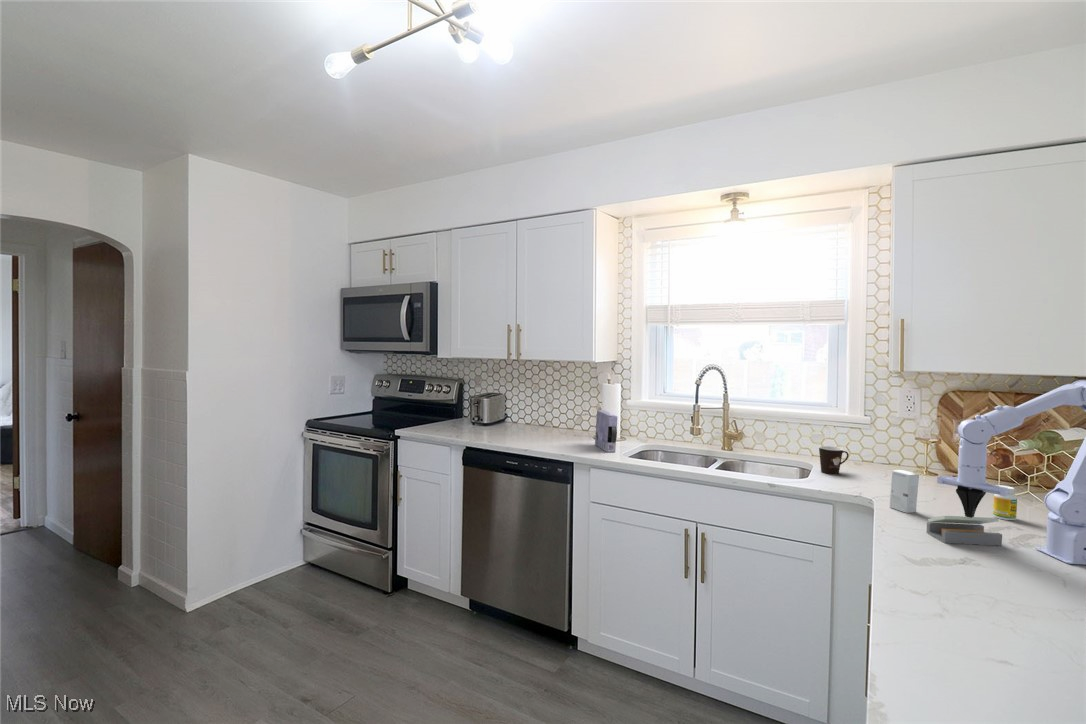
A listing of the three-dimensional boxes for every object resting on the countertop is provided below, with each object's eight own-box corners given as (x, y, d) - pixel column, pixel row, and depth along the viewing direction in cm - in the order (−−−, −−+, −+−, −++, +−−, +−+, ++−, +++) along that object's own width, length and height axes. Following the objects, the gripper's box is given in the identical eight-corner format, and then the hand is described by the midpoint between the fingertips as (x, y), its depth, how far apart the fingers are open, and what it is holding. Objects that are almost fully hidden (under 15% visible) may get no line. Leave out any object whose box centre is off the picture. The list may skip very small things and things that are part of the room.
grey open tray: (1001, 545, 137) (1002, 534, 137) (944, 543, 138) (945, 531, 138) (980, 535, 144) (980, 524, 144) (926, 532, 146) (926, 522, 146)
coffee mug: (820, 474, 212) (821, 449, 211) (816, 469, 220) (816, 445, 219) (852, 476, 208) (854, 451, 208) (847, 471, 216) (848, 447, 216)
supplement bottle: (996, 514, 164) (997, 483, 163) (1018, 519, 159) (1020, 487, 159) (990, 517, 161) (991, 486, 160) (1012, 522, 156) (1014, 490, 156)
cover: (998, 521, 138) (997, 518, 138) (945, 518, 139) (944, 515, 139) (979, 524, 144) (978, 521, 145) (928, 522, 145) (927, 519, 146)
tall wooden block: (985, 538, 140) (985, 532, 140) (945, 536, 141) (945, 530, 141) (980, 536, 142) (980, 530, 142) (941, 534, 142) (941, 528, 142)
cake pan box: (617, 453, 245) (618, 415, 244) (607, 453, 244) (608, 415, 243) (604, 445, 264) (604, 410, 263) (594, 445, 263) (595, 410, 262)
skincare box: (888, 507, 169) (890, 470, 168) (899, 506, 170) (900, 469, 169) (907, 513, 163) (908, 474, 162) (917, 512, 164) (919, 473, 164)
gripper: (1012, 469, 135) (1010, 521, 135) (945, 458, 147) (943, 506, 147) (1003, 472, 131) (1000, 526, 131) (935, 461, 143) (932, 510, 143)
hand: (969, 516), depth 139 cm, fingers closed
